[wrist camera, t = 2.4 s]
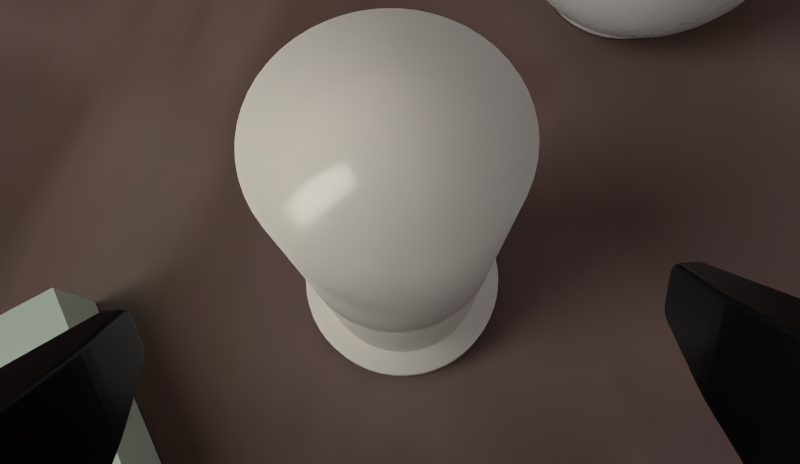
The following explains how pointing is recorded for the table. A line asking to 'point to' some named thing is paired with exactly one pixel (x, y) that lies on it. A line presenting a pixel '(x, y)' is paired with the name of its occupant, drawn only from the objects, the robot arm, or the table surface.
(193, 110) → the table surface
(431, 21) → the white rounded piece
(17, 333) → the block
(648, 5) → the lidded jar
